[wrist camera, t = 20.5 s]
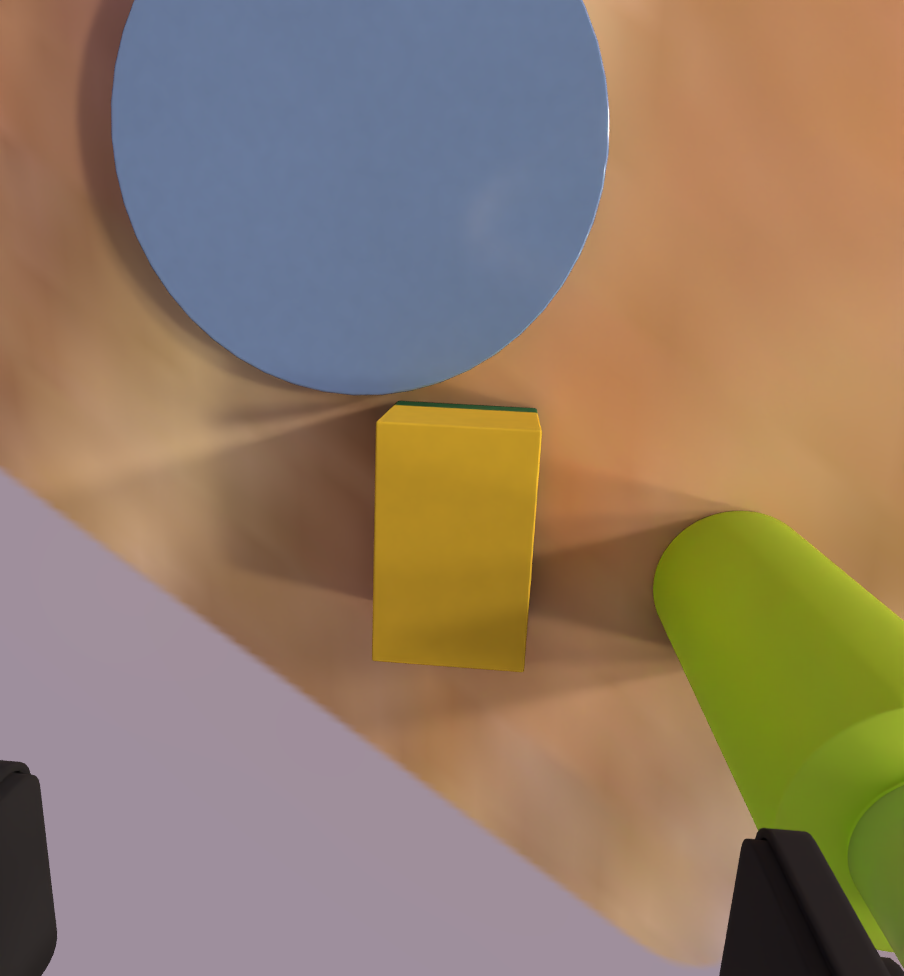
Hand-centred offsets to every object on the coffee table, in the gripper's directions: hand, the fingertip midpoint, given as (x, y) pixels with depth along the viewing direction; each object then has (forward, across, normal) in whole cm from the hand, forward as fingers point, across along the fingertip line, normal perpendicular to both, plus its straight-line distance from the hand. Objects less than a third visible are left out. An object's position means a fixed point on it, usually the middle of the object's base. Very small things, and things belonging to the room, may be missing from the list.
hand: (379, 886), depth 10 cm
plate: (+18, +4, -12) cm, 22 cm away
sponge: (+18, 0, 0) cm, 18 cm away
